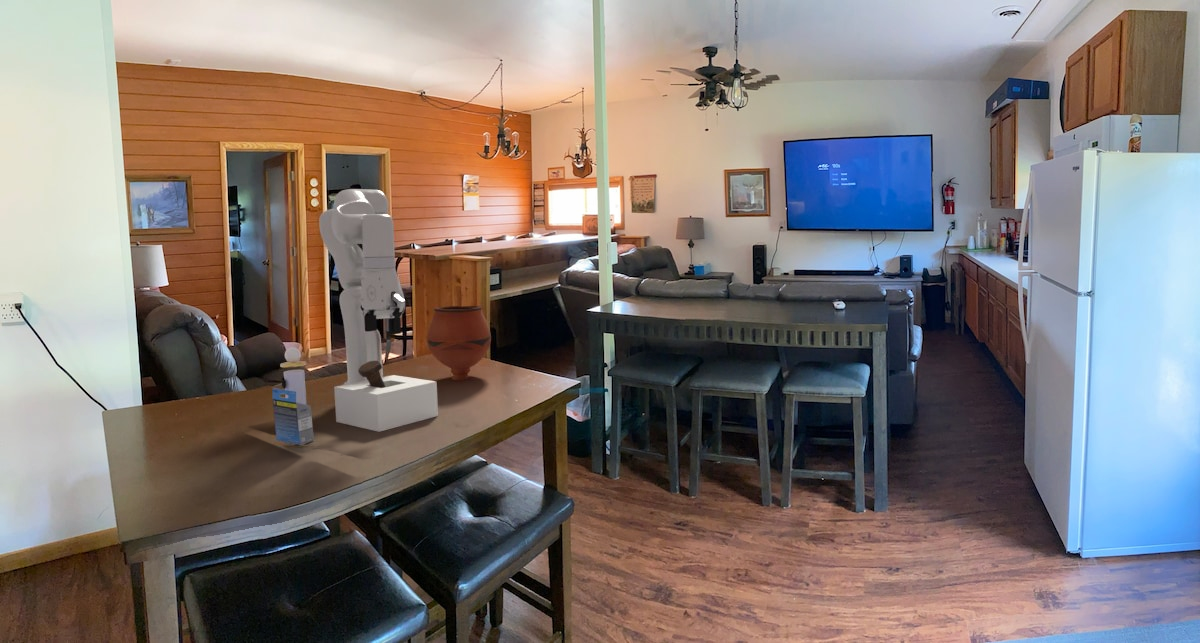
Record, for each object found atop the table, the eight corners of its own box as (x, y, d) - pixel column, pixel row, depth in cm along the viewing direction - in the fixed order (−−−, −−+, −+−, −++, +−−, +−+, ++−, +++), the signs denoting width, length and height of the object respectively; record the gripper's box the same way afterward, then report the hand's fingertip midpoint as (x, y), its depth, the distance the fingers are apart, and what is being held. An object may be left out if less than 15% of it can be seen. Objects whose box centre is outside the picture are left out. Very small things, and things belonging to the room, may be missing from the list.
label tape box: (314, 441, 157) (311, 387, 156) (299, 445, 154) (295, 391, 152) (290, 436, 161) (286, 384, 160) (274, 440, 158) (270, 387, 157)
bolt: (392, 421, 174) (369, 372, 168) (376, 421, 176) (353, 372, 170) (405, 408, 179) (383, 359, 172) (390, 407, 181) (368, 359, 174)
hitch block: (336, 421, 174) (334, 386, 173) (395, 407, 188) (393, 375, 187) (379, 431, 164) (377, 394, 163) (438, 415, 178) (436, 381, 177)
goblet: (505, 385, 216) (502, 305, 213) (454, 396, 201) (451, 311, 199) (466, 378, 228) (463, 303, 225) (417, 388, 214) (413, 307, 211)
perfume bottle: (310, 424, 172) (305, 344, 170) (310, 429, 167) (305, 348, 164) (285, 427, 170) (279, 346, 167) (284, 432, 164) (278, 349, 162)
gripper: (345, 264, 174) (349, 331, 176) (388, 265, 164) (392, 337, 166) (371, 263, 180) (374, 328, 182) (414, 264, 170) (417, 333, 172)
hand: (382, 332), depth 174 cm, fingers open, 9 cm apart
